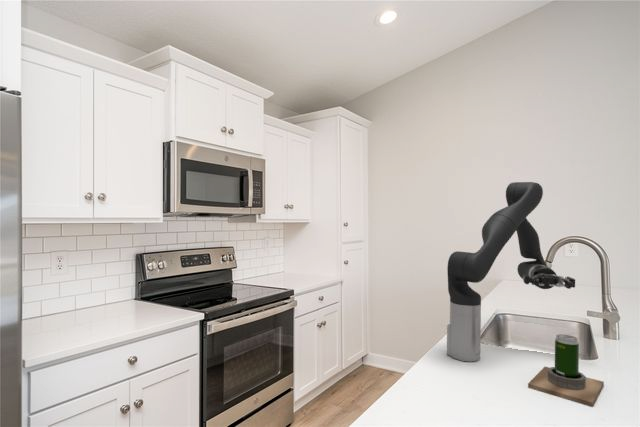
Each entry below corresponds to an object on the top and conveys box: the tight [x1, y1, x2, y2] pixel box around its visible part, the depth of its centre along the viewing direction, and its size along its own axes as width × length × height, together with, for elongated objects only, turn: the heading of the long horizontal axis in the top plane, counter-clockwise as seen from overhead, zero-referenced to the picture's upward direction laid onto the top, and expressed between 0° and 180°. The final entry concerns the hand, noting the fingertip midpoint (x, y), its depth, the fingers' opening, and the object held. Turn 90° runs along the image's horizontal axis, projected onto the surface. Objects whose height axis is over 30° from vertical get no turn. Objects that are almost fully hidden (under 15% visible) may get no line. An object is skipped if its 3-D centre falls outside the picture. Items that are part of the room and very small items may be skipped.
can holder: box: [527, 366, 605, 408], centre depth 101 cm, size 14×16×4 cm
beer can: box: [554, 333, 580, 379], centre depth 101 cm, size 5×5×12 cm
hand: (553, 284), depth 119 cm, fingers open, 8 cm apart
